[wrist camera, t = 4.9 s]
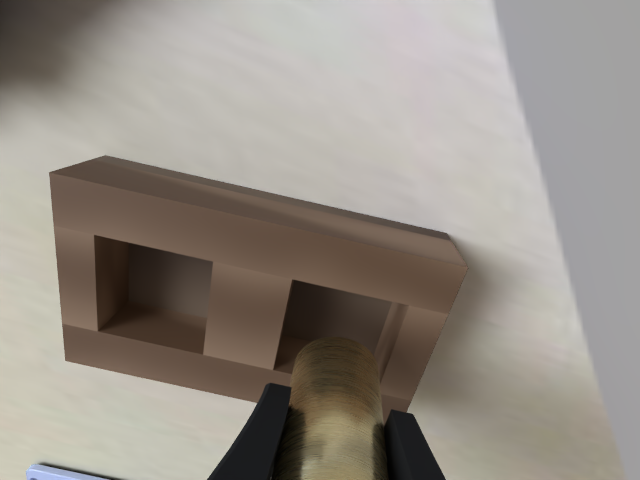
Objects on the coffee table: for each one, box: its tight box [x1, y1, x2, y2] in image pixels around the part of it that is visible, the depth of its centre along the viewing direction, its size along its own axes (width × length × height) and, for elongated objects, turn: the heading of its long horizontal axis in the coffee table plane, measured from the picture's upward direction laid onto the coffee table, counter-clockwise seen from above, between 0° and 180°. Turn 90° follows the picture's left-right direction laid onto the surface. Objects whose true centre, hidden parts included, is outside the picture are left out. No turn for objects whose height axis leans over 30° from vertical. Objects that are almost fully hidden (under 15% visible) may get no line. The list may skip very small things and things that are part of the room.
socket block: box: [49, 155, 468, 426], centre depth 15 cm, size 8×14×3 cm, turn 78°
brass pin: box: [271, 337, 389, 480], centre depth 9 cm, size 3×3×7 cm
